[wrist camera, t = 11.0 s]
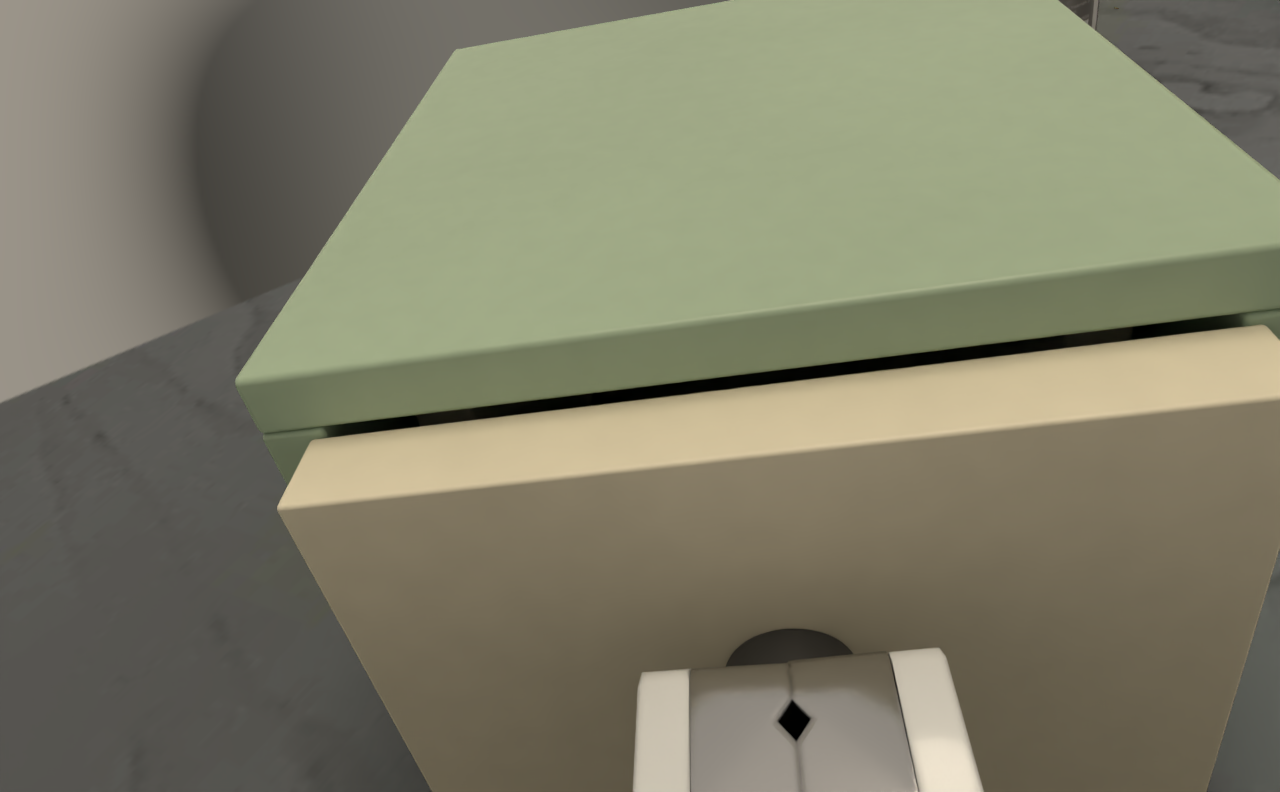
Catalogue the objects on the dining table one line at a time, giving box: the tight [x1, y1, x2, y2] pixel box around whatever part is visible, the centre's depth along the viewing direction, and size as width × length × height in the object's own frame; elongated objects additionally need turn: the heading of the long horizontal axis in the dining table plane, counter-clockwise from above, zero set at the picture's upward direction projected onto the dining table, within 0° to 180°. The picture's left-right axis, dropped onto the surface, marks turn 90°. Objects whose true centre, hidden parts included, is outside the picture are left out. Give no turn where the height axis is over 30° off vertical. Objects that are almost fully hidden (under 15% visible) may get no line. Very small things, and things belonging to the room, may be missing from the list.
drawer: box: [277, 324, 1280, 792], centre depth 15 cm, size 13×10×7 cm
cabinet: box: [235, 0, 1280, 486], centre depth 17 cm, size 13×12×9 cm
